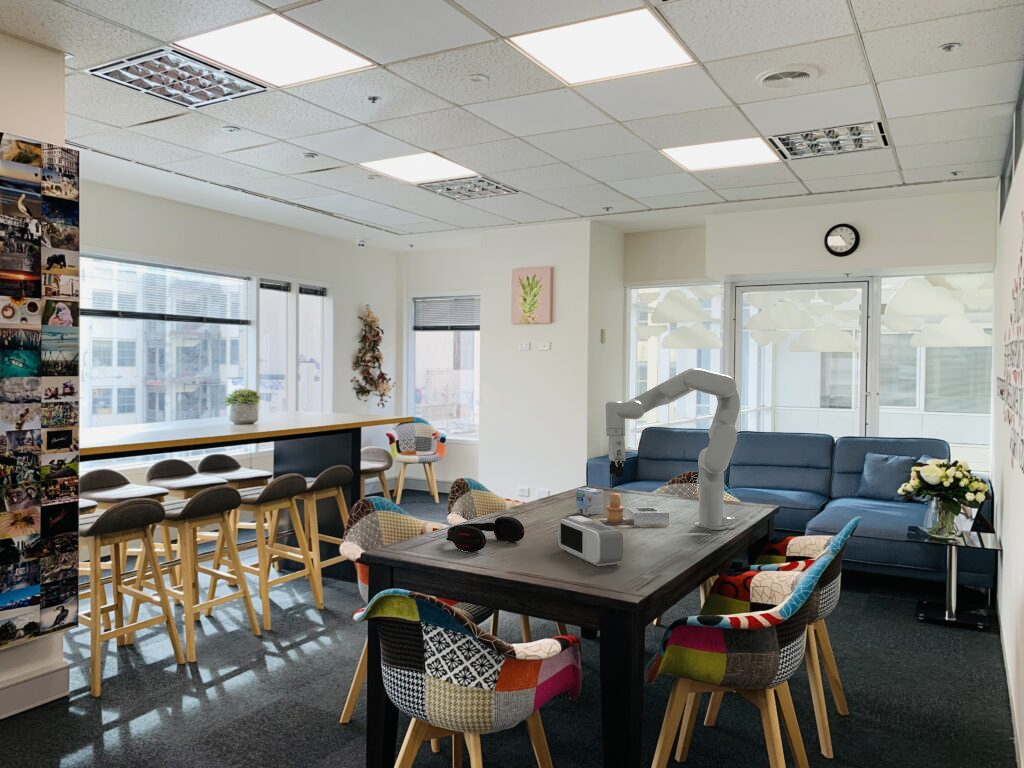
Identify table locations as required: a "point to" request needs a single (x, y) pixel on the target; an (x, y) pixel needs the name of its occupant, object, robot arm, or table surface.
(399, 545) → the table surface
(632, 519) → the plate
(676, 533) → the table surface
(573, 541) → the alarm clock
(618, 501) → the end cover
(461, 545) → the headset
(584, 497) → the light bulb box
